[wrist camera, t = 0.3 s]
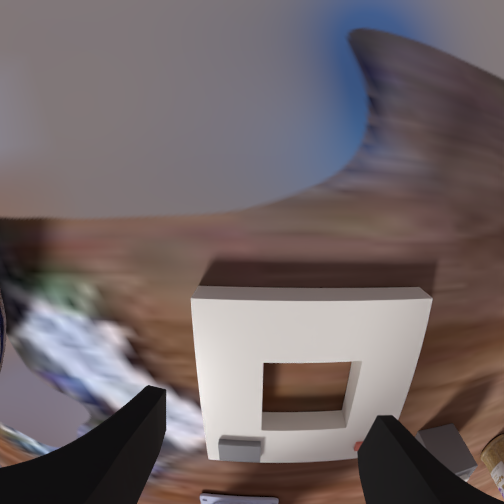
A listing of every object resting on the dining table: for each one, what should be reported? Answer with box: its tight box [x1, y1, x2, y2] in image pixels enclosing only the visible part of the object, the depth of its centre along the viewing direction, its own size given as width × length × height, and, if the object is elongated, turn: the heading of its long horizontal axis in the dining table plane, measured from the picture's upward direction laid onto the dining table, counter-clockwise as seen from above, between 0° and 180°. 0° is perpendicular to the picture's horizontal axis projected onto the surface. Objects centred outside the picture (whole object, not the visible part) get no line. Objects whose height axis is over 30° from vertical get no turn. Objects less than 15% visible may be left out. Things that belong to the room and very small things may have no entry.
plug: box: [415, 423, 478, 482], centre depth 19 cm, size 4×4×7 cm
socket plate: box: [191, 286, 433, 463], centre depth 19 cm, size 14×14×3 cm
